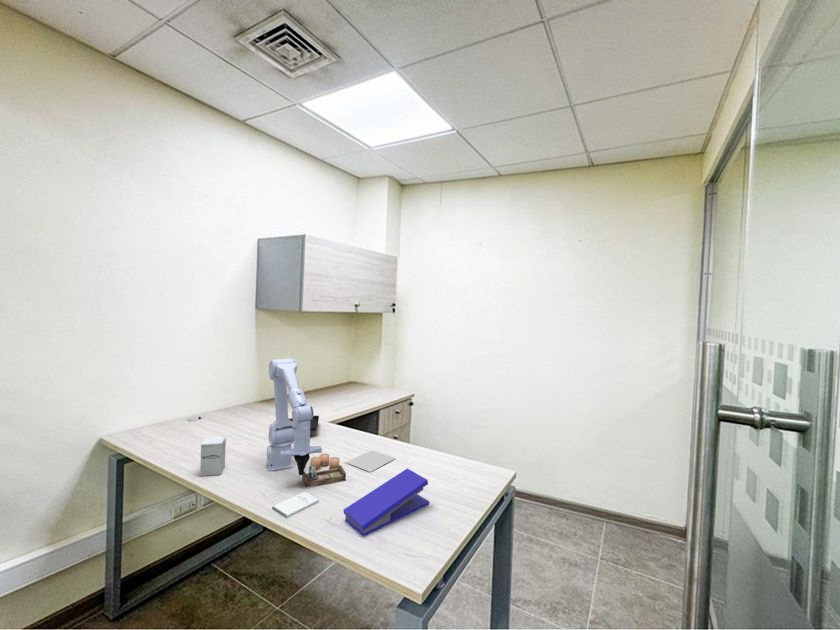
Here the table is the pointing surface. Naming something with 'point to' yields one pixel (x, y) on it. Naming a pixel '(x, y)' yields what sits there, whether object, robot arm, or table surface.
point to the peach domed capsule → (316, 462)
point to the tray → (311, 423)
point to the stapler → (387, 503)
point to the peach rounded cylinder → (324, 460)
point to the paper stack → (370, 460)
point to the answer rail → (325, 477)
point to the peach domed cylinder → (334, 463)
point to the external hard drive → (295, 504)
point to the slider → (312, 473)
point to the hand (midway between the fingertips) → (300, 473)
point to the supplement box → (212, 456)
